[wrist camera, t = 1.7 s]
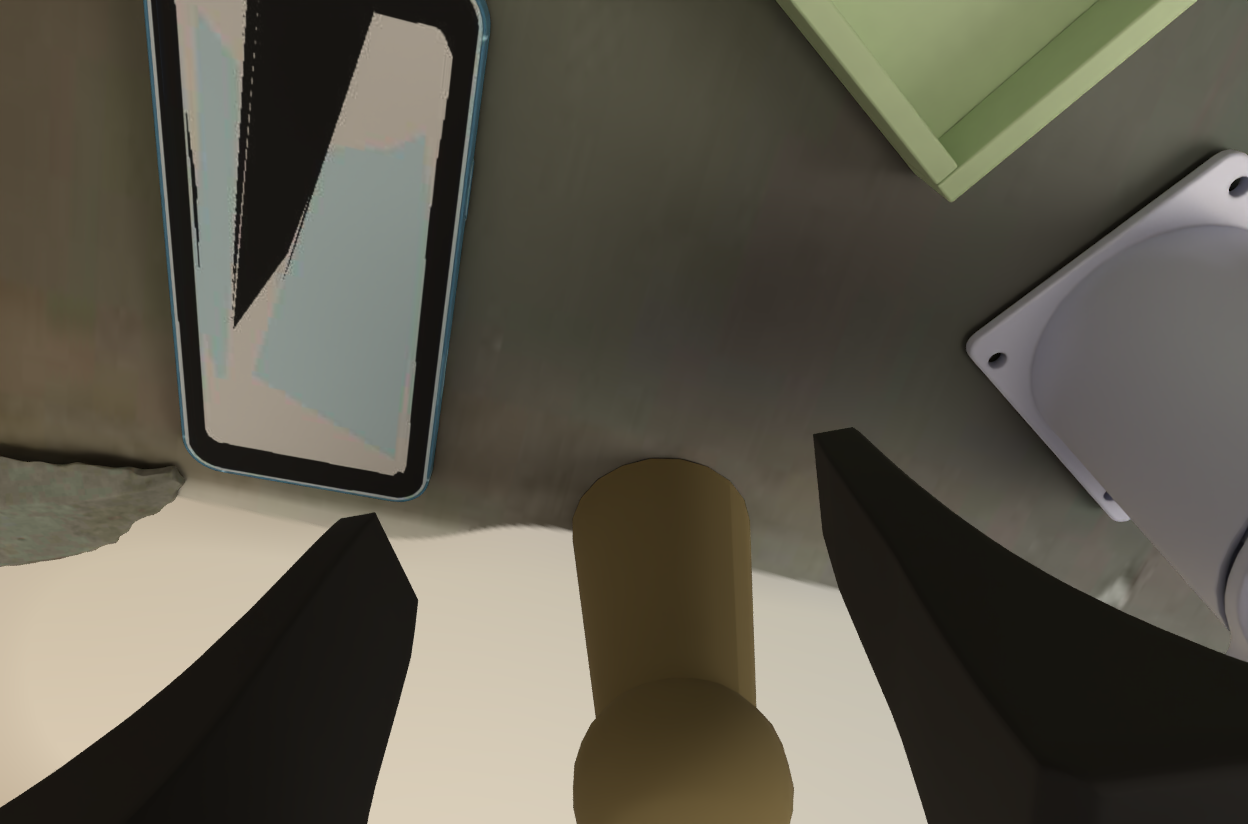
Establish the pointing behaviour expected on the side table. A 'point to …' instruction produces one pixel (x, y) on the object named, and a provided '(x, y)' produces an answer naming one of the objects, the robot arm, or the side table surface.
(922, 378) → the side table surface
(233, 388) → the smartphone
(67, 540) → the stone
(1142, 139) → the side table surface
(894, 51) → the spice tray
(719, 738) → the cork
